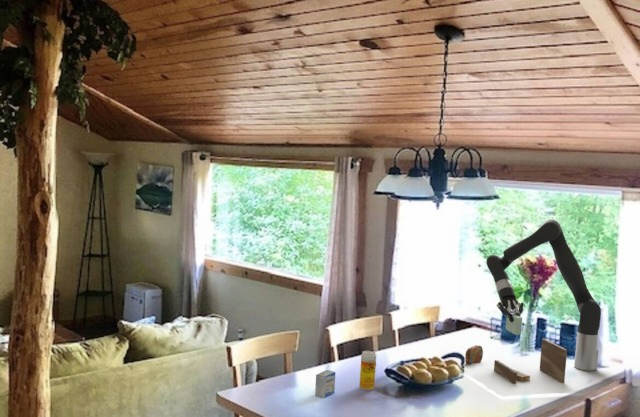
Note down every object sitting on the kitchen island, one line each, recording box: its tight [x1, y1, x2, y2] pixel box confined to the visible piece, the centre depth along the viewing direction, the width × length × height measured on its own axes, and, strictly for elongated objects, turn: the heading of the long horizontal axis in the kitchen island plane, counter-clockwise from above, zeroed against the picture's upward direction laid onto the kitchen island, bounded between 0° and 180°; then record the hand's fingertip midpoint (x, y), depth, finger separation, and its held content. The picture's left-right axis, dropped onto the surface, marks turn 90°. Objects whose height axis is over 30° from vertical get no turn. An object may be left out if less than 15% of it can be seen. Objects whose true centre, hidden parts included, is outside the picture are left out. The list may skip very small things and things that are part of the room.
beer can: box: [359, 350, 377, 392], centre depth 274 cm, size 6×6×15 cm
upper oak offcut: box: [511, 368, 531, 382], centre depth 298 cm, size 5×12×2 cm, turn 29°
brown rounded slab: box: [464, 344, 484, 366], centre depth 319 cm, size 15×3×8 cm, turn 143°
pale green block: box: [505, 312, 523, 336], centre depth 317 cm, size 3×9×8 cm, turn 13°
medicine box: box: [314, 369, 336, 399], centre depth 265 cm, size 8×4×9 cm, turn 148°
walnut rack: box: [493, 338, 568, 384], centre depth 300 cm, size 24×18×16 cm
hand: (515, 321), depth 315 cm, fingers closed on pale green block, 3 cm apart
